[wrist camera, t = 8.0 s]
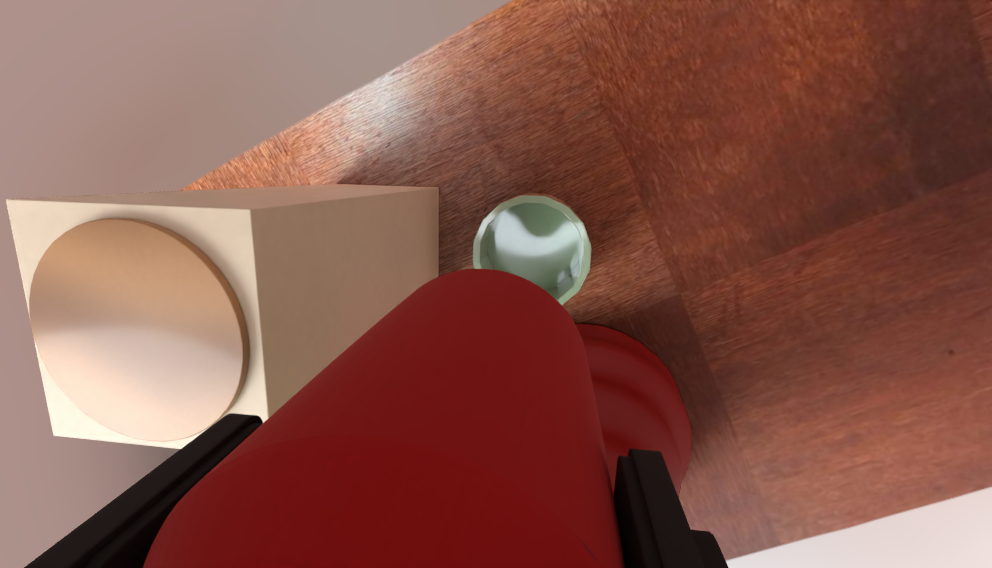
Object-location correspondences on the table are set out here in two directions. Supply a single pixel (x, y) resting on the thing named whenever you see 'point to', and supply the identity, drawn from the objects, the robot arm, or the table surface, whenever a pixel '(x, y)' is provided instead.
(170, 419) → the cork pad
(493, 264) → the can holder
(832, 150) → the table surface
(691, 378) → the table surface
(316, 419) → the beverage can
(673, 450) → the table lamp
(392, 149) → the table surface
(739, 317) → the table surface
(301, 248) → the block
